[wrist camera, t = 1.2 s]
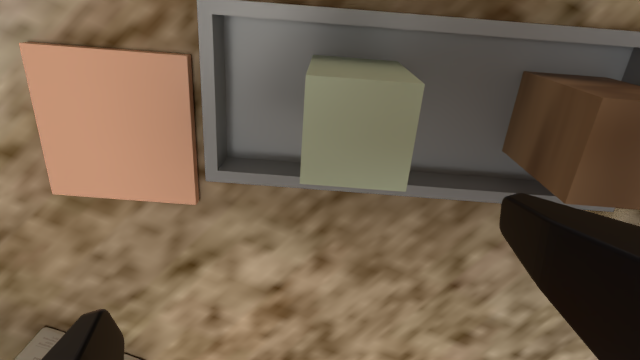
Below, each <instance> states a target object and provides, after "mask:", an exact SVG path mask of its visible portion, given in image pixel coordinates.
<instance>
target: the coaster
mask: <svg viewBox="0 0 640 360" xmlns="http://www.w3.org/2000/svg"><path fill="white" fill-rule="evenodd" d="M19 46H20V51H21V55H22V60H23V64H24V69H25V73H26V78H27V82H28V86H29V91H30V95H31V100H32V104H33V109H34V113H35V118H36V122H37V127H38V131H39V136H40V140H41V145H42V149H43V154H44V158H45V163H46V167H47V172H48V176H49V181H50V185H51V190H52V194H58V195H71V196H85V197H98V198H111V199H124V200H138V201H151V202H164V203H177V204H191V205H196V204H197V203H198V201H199V187H198V169H197V152H196V134H195V117H194V99H193V82H192V64H191V54H178V53H165V52H152V51H139V50H126V49H113V48H100V47H87V46H74V45H62V44H49V43H36V42H22V43H19Z"/></svg>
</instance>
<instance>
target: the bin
mask: <svg viewBox="0 0 640 360" xmlns="http://www.w3.org/2000/svg"><path fill="white" fill-rule="evenodd" d="M197 13H198V33H199V54H200V74H201V95H202V115H203V136H204V156H205V177H206V181H212V182H225V183H238V184H251V185H264V186H278V187H291V188H304V189H317V190H330V191H344V192H357V193H370V194H383V195H397V196H410V197H423V198H436V199H449V200H463V201H476V202H489V203H502V200H503V198H504V197H506V196H509V195H512V194H516V193H525V194H529V195H532V196H535V197H539V198H542V199H546V200H549V201H553V202H556V203H560V204H563V205H567V206H570V207H574V208H577V209H582V210H595V211H608V212H614V209H615V208H612V207H599V206H585V205H572V204H564V203H563V202H562V201H561V200H560V199H559V198H557V197H556V196H555V195H554V194H553V193H551V192H550V191H549V190H548V189H547V188H546V187H544V186H543V185H542V184H541V183H540V182H538V181H537V180H536V179H535V178H534V177H533V176H531V175H530V174H529V173H528V172H527V171H525V170H524V169H523V168H522V167H521V166H520V165H518V164H517V163H516V162H515V161H514V160H512V159H511V158H510V157H509V156H508V155H507V154H505V153H504V152H503V151H502V149H503V145H504V141H505V138H506V134H507V130H508V127H509V123H510V119H511V116H512V112H513V108H514V105H515V101H516V97H517V94H518V90H519V86H520V83H521V79H522V75H523V71H529V72H542V73H555V74H568V75H581V76H594V77H607V78H611V79H615V80H619V81H623V82H627V83H630V84H634V85H638V86H640V32H638V31H626V30H613V29H600V28H587V27H575V26H562V25H549V24H536V23H523V22H511V21H498V20H485V19H472V18H459V17H447V16H434V15H421V14H408V13H395V12H383V11H370V10H357V9H344V8H331V7H319V6H306V5H293V4H280V3H268V2H255V1H242V0H197ZM313 55H323V56H336V57H349V58H361V59H374V60H387V61H398V62H399V63H400V64H401V65H402V66H404V67H405V68H406V69H407V70H408V71H410V72H411V73H412V74H413V75H414V76H416V77H417V78H418V79H419V80H420V81H422V82H423V83H424V84H425V87H424V92H423V98H422V104H421V109H420V115H419V121H418V126H417V132H416V138H415V143H414V149H413V155H412V160H411V166H410V172H409V177H408V183H407V189H406V192H401V191H387V190H374V189H361V188H348V187H335V186H321V185H308V184H300V167H301V149H302V131H303V113H304V95H305V78H306V73H307V70H308V67H309V65H310V62H311V59H312V56H313Z"/></svg>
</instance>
